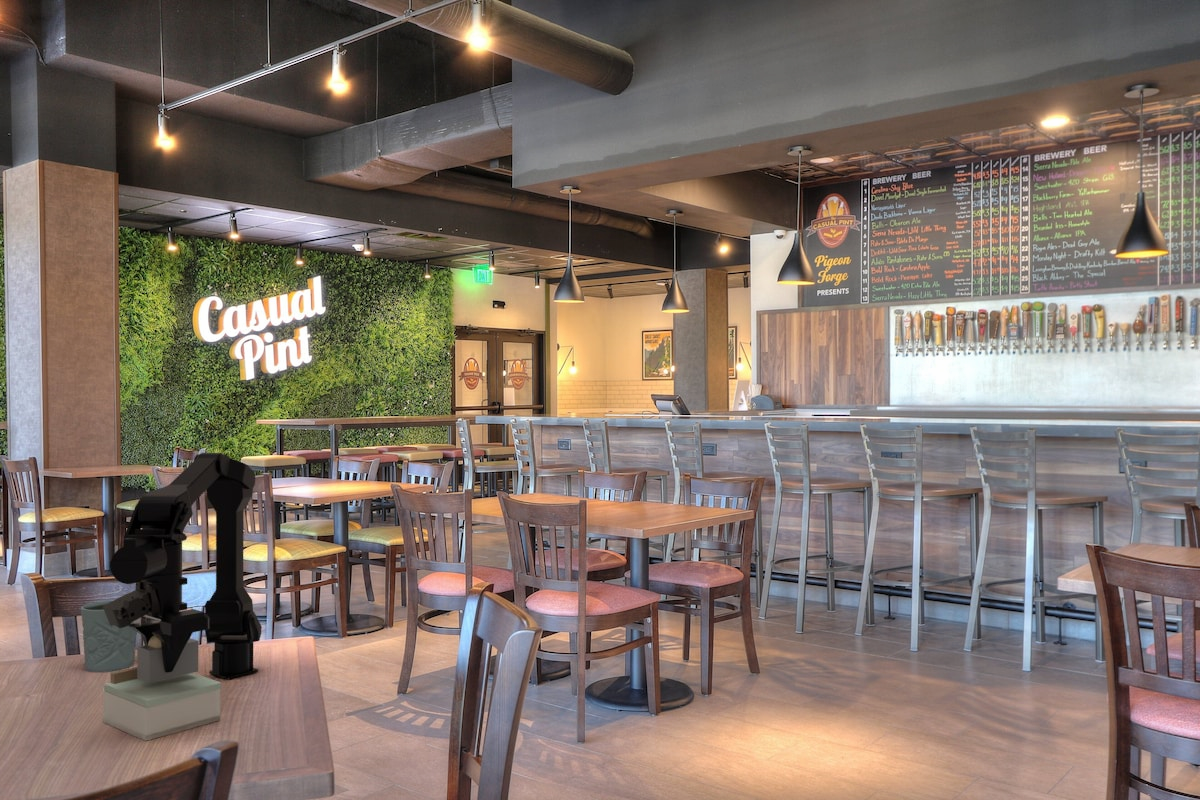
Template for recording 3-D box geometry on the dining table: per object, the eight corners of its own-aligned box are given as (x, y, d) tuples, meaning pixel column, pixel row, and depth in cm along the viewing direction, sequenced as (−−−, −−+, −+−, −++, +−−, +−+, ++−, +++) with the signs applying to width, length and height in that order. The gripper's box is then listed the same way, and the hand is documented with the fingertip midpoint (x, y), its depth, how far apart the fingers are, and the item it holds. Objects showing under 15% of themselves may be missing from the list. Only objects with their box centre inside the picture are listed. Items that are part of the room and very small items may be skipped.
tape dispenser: (185, 667, 154) (185, 627, 154) (198, 671, 152) (198, 630, 152) (137, 678, 148) (137, 636, 148) (149, 682, 145) (149, 640, 146)
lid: (177, 673, 158) (177, 658, 158) (221, 688, 149) (221, 672, 149) (104, 690, 148) (104, 674, 148) (146, 707, 140) (147, 690, 140)
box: (175, 703, 158) (176, 673, 158) (220, 720, 149) (220, 688, 149) (102, 721, 149) (103, 690, 149) (145, 741, 140) (145, 707, 140)
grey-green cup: (79, 675, 175) (80, 611, 175) (81, 662, 184) (81, 602, 184) (139, 668, 179) (140, 606, 179) (138, 656, 188) (138, 597, 188)
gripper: (84, 573, 149) (83, 670, 148) (140, 586, 137) (139, 692, 137) (153, 564, 157) (152, 656, 157) (211, 576, 146) (211, 675, 146)
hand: (162, 669), depth 149 cm, fingers closed on tape dispenser, 4 cm apart
